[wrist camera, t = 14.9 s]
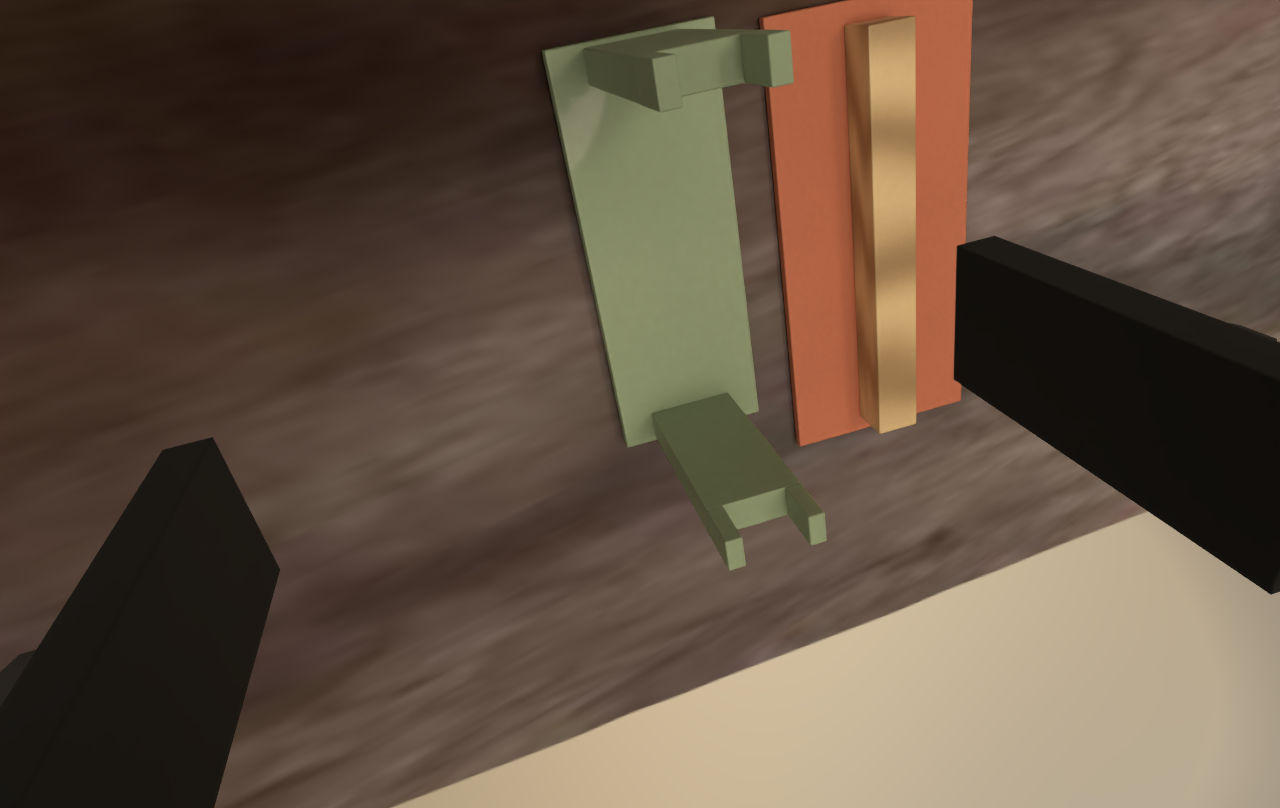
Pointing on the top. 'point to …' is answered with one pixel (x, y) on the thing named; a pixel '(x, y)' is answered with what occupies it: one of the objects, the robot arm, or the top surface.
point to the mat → (822, 204)
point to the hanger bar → (884, 214)
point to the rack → (676, 256)
